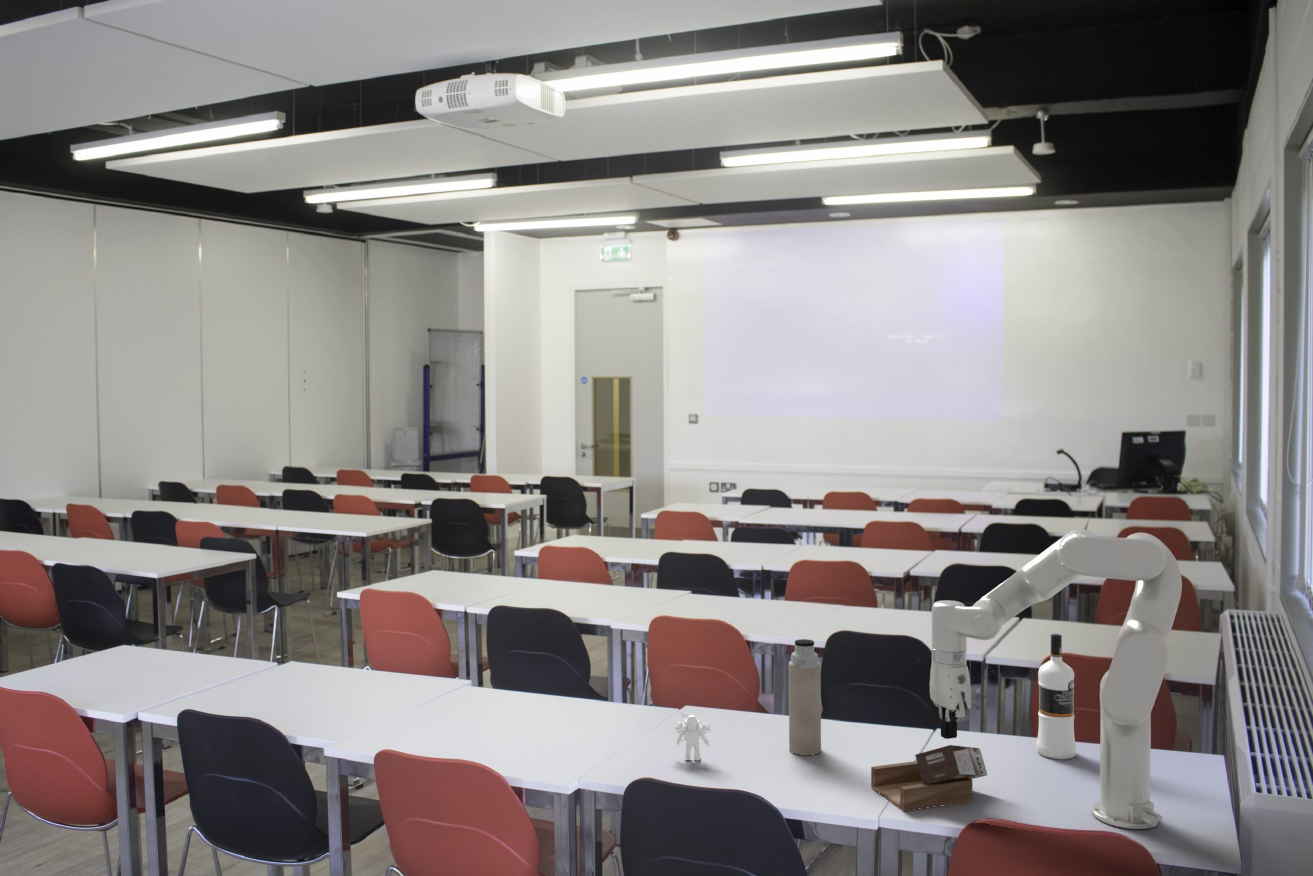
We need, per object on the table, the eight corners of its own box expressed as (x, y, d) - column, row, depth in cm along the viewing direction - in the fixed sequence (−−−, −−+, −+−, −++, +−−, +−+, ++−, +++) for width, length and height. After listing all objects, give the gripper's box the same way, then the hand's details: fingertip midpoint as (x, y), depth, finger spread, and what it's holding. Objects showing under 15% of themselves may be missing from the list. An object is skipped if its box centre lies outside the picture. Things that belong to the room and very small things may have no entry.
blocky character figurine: (673, 761, 241) (673, 713, 241) (676, 755, 245) (675, 708, 244) (710, 763, 239) (709, 714, 239) (711, 757, 243) (711, 709, 243)
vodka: (1051, 745, 250) (1051, 628, 249) (1084, 755, 242) (1084, 635, 241) (1028, 752, 245) (1028, 633, 244) (1061, 763, 237) (1061, 640, 236)
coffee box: (979, 746, 222) (952, 744, 210) (988, 776, 220) (961, 775, 208) (942, 755, 227) (913, 753, 215) (950, 784, 224) (922, 784, 212)
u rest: (972, 801, 214) (972, 780, 214) (903, 811, 209) (903, 789, 209) (936, 779, 228) (936, 758, 228) (871, 787, 223) (871, 766, 223)
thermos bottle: (797, 743, 253) (796, 635, 252) (825, 748, 249) (825, 639, 248) (783, 752, 246) (783, 642, 246) (813, 758, 242) (812, 645, 241)
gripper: (983, 663, 214) (983, 746, 214) (944, 647, 228) (944, 725, 229) (953, 666, 212) (953, 750, 212) (916, 650, 226) (916, 728, 226)
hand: (948, 737), depth 220 cm, fingers closed
